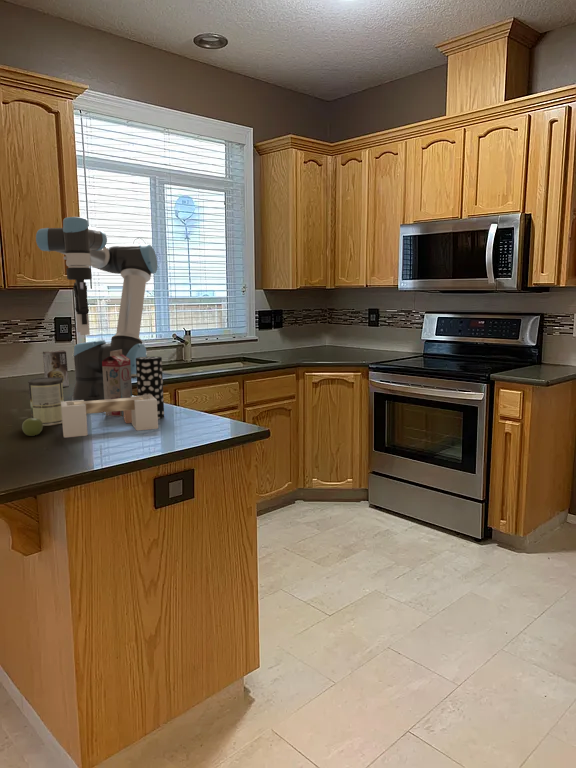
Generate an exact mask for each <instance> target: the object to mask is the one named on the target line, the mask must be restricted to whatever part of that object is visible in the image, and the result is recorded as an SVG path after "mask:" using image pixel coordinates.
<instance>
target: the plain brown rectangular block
mask: <svg viewBox="0 0 576 768" xmlns="http://www.w3.org/2000/svg"><path fill="white" fill-rule="evenodd" d="M123 412H124V416H123V421H124V422H125V423H126V424H132V413H131V410H124V411H123Z"/></svg>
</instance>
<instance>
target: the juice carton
mask: <svg viewBox="0 0 576 768" xmlns="http://www.w3.org/2000/svg"><path fill="white" fill-rule="evenodd" d="M102 368H103V384H104V400H107V399H120V398H131V396H133V387H132V386H133V385H132V377H131V363H130V359H129V358H128V357H126V356H124V355H123V354H122V350H115V351H110V357H108V358H106V359H104V360H103V361H102ZM104 414H105V416H106V417H107V416H111V417H124V412H123V411H112V412H104Z"/></svg>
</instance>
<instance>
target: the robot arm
mask: <svg viewBox="0 0 576 768" xmlns="http://www.w3.org/2000/svg"><path fill="white" fill-rule="evenodd" d="M62 224H63V225H62V227H43V228H39V229H38V230H37V232H36V234H35V242H36V245H37V247H38V249H39V250H40V251H43V252H56V253H60V254H62V255H64V256H63V260H64V261H65V260H66V261H65V265H66V271H65V272H66V278H67V280H69V281H71V280H72V281H75V282H74V284H73V286H72V287H73V288H72V289H73V292H74V293H73V294H74V300H75V301H74V302H75V306H74V307H75V308H74V309H75V315H76V316H75V318H76V329H77V333H80V336H89V335H90V334H91V333H90V318H89V312H90V309H89V304H88V285H87V283H86V282H85V280H86V281H87V280H89V281H91V280H92V279H93V278H92V269H91V267H92V268H95V269H96V270H99V271H104V272H106V273H110V274H116V275H118V274H120V276H121V277H122V279H123V283H122V289H121V291H122V292H121V296H120V304H119V305H120V306H119V310H118V311H119V312H118V319H117V327H116V334H114V335H112V336H111V339H110V343H107V342H106V340H105V339H102V340H101V339H100V340H95V341H86V342H81V343H77V344H75V345H74V346H73V358H74V359H73V360H74V363H73V364H74V372H75V373H74V374H75V385H74V388H73V392H72V395H71V401H75V400H84V401H94V400H104V384H103V368H102V361H103V360H104V359H106V358H108V357H110V351H115V350H122V354H123V355H124V356H126V357H128V358H129V359H130V363H131V374H136V358H138V357H148V356H147V355H148V353H147V348H146V346H145V344H143V340H142V339H141V338H140V334H141V333H140V331H141V324H142V317H143V309H144V301H145V300H144V299H145V295H146V294H145V293H146V285H147V283H148V282H149V281H151V277H152V274H153V275H154V274H156V273H157V272H158V258H157V254H156V251H155V250H154V247H153V246H152V245H151V244H148V243H124V244H123V243H121V244H120V243H119V244H115V243H114V244H108V243H107V242H108V237H107V234H106V233H105V232H104V230H102V229H100V228H97V227H95V226H93V227H92V226H89V221H88V218H85V217H81V216H70V217H69V216H67V217H65V218H64V219H63V221H62ZM146 353H147V354H146Z"/></svg>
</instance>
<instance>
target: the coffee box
mask: <svg viewBox="0 0 576 768" xmlns="http://www.w3.org/2000/svg"><path fill="white" fill-rule="evenodd" d="M42 357H43V358H42V359H43V369H44V371H43V372H44V378H47V377H58V378H62V379H63V381H62V382H63V388H65V387H69V386H70V383H69V372H68V359H67V357H68V356H67V351H65V350H64V349H63V350H61V349H60V350H49V351H48V350H47V351H42Z"/></svg>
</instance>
